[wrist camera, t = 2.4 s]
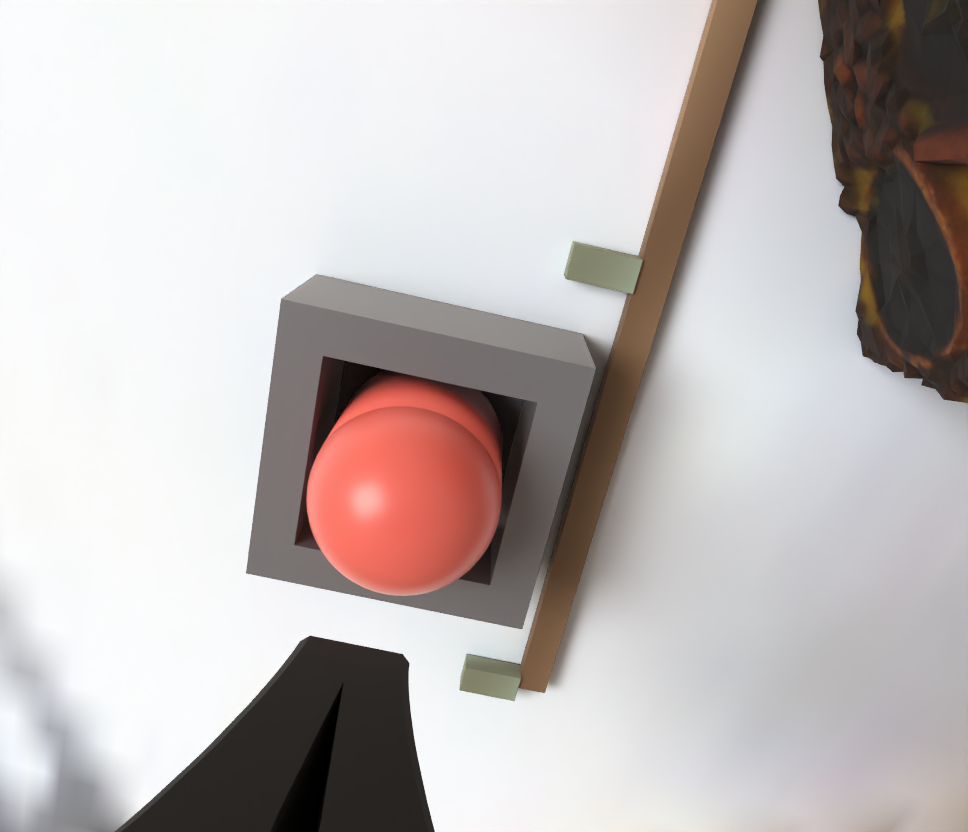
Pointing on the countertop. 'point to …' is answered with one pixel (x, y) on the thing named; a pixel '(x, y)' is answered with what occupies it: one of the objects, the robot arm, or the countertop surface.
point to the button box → (437, 356)
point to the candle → (905, 177)
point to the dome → (407, 484)
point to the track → (625, 344)
